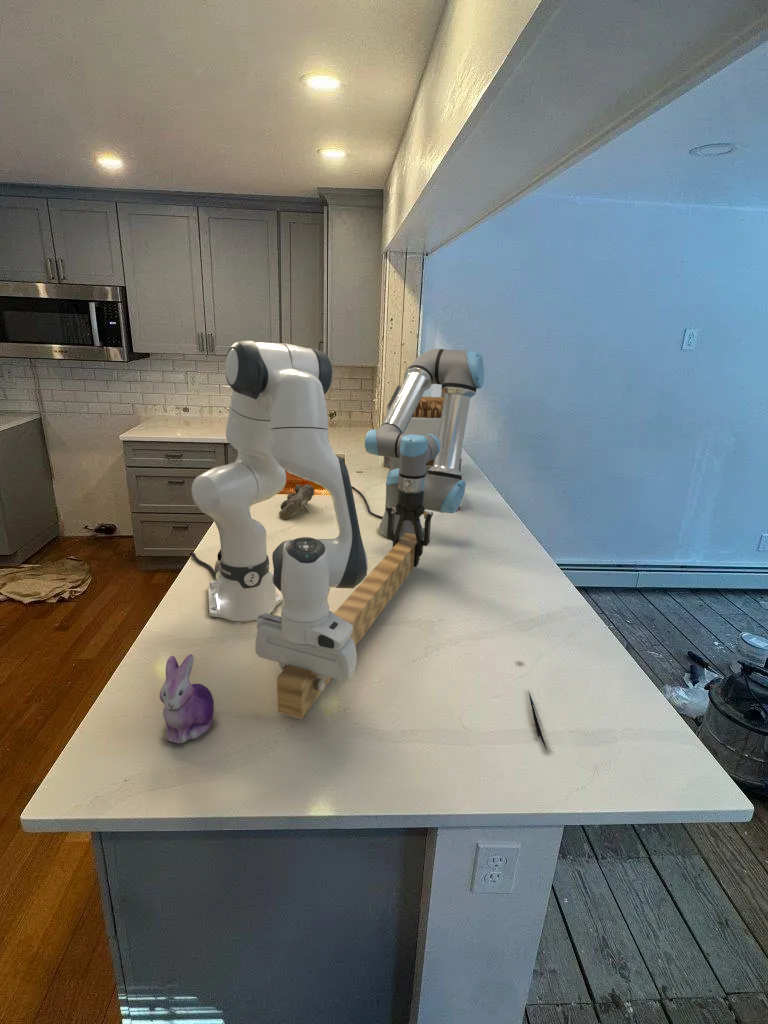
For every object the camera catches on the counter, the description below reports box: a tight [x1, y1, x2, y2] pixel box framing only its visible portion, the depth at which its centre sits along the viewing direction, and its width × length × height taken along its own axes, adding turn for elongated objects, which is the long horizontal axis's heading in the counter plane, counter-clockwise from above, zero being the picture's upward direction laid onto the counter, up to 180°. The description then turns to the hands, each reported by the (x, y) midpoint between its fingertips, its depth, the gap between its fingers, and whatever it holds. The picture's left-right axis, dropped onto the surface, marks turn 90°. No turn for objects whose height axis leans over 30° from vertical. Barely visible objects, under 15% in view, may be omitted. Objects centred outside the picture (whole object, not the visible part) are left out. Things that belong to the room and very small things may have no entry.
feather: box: [528, 689, 548, 751], centre depth 116 cm, size 2×28×2 cm
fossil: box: [278, 483, 315, 519], centre depth 216 cm, size 22×10×15 cm
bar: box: [276, 533, 421, 719], centre depth 139 cm, size 78×5×8 cm, turn 160°
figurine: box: [159, 653, 215, 744], centre depth 102 cm, size 9×10×15 cm
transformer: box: [383, 384, 463, 474], centre depth 268 cm, size 34×33×41 cm
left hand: (304, 684), depth 111 cm, fingers closed on bar, 5 cm apart
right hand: (406, 563), depth 170 cm, fingers closed on bar, 5 cm apart
